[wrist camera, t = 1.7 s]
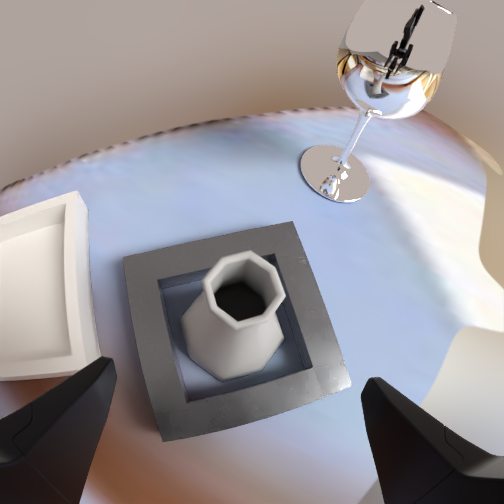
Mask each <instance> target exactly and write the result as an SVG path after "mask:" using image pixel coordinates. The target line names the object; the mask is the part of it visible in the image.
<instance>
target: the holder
mask: <svg viewBox="0 0 504 504" xmlns="http://www.w3.org/2000/svg"><path fill="white" fill-rule="evenodd" d="M248 250H251V251H253V252H254V253H256V254H257V255H258V256H260V257H261V258H263V259H264V260H266V261H267V262H268V263H270V264H271V265H273V266H274V267H276V270H277V273H278V276H279V278H280V281H281V284H282V287H283V289H284V292H285V295H286V297H285V298H284V300H283V304H284V307H285V310H286V313H287V316H288V319H289V322H290V325H291V328H292V331H293V334H294V337H295V340H296V343H297V347H298V350H299V353H300V356H301V359H302V362H303V365H304V368H305V369H303V370H300V371H297V372H294V373H291V374H288V375H285V376H282V377H279V378H276V379H273V380H269V381H266V382H263V383H260V384H256V385H253V386H249V387H246V388H242V389H238V390H235V391H231V392H227V393H223V394H219V395H215V396H211V397H207V398H202V399H198V400H193V401H189V398H188V395H187V391H186V388H185V384H184V381H183V377H182V373H181V370H180V366H179V362H178V358H177V354H176V350H175V346H174V342H173V338H172V333H171V329H170V325H169V320H168V316H167V311H166V306H165V301H164V297H163V291H162V289H163V288H167V287H172V286H176V285H181V284H185V283H190V282H194V281H199V280H202V279H203V277H204V276H205V275H206V274H207V273H208V272H209V270H210V269H211V268H212V267H213V266H214V265H215V263H216V262H217V261H218V260H219V259H220V258H221V257H223V256H227V255H231V254H236V253H240V252H244V251H248ZM123 262H124V271H125V279H126V286H127V293H128V300H129V306H130V312H131V318H132V323H133V329H134V334H135V339H136V344H137V349H138V353H139V358H140V362H141V367H142V371H143V375H144V379H145V383H146V387H147V391H148V394H149V398H150V402H151V405H152V409H153V412H154V415H155V419H156V422H157V425H158V428H159V432H160V435H161V438H162V441H163V442H166V441H172V440H178V439H184V438H189V437H194V436H199V435H204V434H208V433H213V432H217V431H221V430H225V429H229V428H233V427H237V426H241V425H244V424H248V423H251V422H255V421H258V420H262V419H265V418H268V417H271V416H274V415H277V414H280V413H283V412H286V411H289V410H292V409H295V408H298V407H301V406H303V405H306V404H309V403H311V402H314V401H316V400H319V399H322V398H324V397H327V396H329V395H331V394H334V393H336V392H339V391H341V390H343V389H345V388H348V387H350V386H352V383H351V380H350V377H349V374H348V371H347V368H346V365H345V362H344V359H343V356H342V353H341V350H340V347H339V344H338V341H337V338H336V335H335V332H334V330H333V327H332V324H331V321H330V318H329V315H328V313H327V310H326V307H325V304H324V302H323V299H322V296H321V293H320V291H319V288H318V285H317V283H316V280H315V277H314V275H313V272H312V269H311V267H310V264H309V261H308V259H307V256H306V254H305V251H304V249H303V246H302V244H301V241H300V238H299V236H298V233H297V231H296V228H295V226H294V224H293V221H291V222H285V223H280V224H275V225H270V226H265V227H261V228H256V229H251V230H246V231H241V232H236V233H231V234H227V235H222V236H217V237H212V238H208V239H203V240H198V241H194V242H189V243H185V244H180V245H175V246H171V247H166V248H162V249H157V250H153V251H149V252H144V253H140V254H135V255H131V256H127V257H123Z"/></svg>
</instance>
